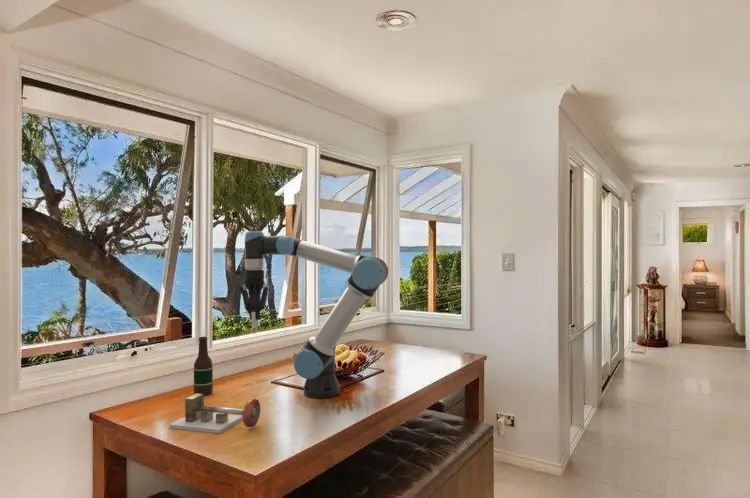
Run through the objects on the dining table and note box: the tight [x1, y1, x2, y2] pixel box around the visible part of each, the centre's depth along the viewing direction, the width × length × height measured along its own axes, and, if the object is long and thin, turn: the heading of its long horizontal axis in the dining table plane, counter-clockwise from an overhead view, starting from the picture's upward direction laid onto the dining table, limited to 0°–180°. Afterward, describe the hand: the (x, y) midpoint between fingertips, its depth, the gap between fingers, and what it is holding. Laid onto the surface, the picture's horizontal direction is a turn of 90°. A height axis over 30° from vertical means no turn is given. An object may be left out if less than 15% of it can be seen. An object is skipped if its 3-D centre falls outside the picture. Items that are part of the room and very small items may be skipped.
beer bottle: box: [193, 336, 214, 397], centre depth 207 cm, size 8×8×24 cm
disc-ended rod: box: [203, 398, 261, 428], centre depth 168 cm, size 20×9×9 cm, turn 74°
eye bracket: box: [184, 393, 229, 424], centre depth 171 cm, size 14×6×8 cm, turn 74°
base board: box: [168, 412, 243, 434], centre depth 171 cm, size 20×14×1 cm
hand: (255, 327), depth 197 cm, fingers closed
